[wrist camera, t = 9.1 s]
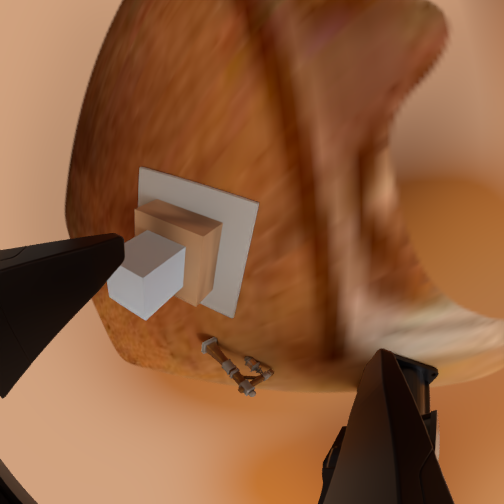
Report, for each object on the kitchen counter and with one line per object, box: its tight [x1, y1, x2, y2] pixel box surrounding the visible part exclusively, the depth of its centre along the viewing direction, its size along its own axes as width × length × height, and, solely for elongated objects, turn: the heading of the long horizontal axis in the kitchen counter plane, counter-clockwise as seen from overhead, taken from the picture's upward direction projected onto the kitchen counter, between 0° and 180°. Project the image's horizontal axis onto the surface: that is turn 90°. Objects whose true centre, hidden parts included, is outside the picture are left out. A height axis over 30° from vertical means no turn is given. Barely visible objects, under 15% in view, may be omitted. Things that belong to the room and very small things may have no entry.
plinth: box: [135, 199, 223, 307], centre depth 24 cm, size 7×7×3 cm
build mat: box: [138, 167, 259, 319], centre depth 25 cm, size 12×12×1 cm
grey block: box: [107, 230, 186, 320], centre depth 20 cm, size 4×4×5 cm
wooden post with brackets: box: [201, 337, 274, 397], centre depth 28 cm, size 2×8×4 cm, turn 78°
